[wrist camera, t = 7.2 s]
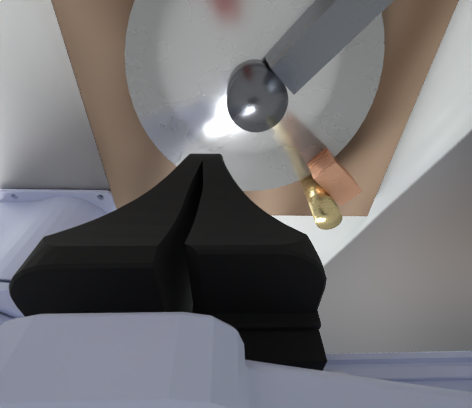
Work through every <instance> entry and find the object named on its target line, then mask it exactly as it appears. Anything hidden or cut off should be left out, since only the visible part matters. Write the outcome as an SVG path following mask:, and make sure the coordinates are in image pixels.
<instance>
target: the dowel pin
mask: <svg viewBox="0 0 472 408" xmlns="http://www.w3.org/2000/svg"><path fill="white" fill-rule="evenodd" d="M300 182H301V185H302V188H303V190H304V193H305V196H306V198H307V201H308V204H309V206H310V209H311V212H312V214H313V217H314V220H315V223H316V225H317V226H318V227H319V228H320V229H324V230H328V229H332V228H335V227H336V226H338V225H339V224H340V223H341V221H342V215H341V213H340V211H339V209H338V207H337V205H336V203H335V201H334V199H333V198H332V197H331V196H330V195H329V194H328V193H327V192H326V191H325V190H324V189H323V188H322V187H321V186H320V185H319V184H318V183H317V182H316V181H315V180H314V178H313V176H312V174H310V175H308V176H307V177H305V178H303V179H301V180H300Z"/></svg>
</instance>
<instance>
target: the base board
mask: <svg viewBox="0 0 472 408" xmlns="http://www.w3.org/2000/svg"><path fill="white" fill-rule="evenodd" d="M51 1H52V4H53V7H54V11H55V14H56V17H57V20H58V23H59V27H60V30H61V33H62V36H63V39H64V43H65V46H66V49H67V52H68V55H69V59H70V62H71V65H72V68H73V71H74V75H75V78H76V81H77V84H78V87H79V91H80V94H81V97H82V100H83V103H84V107H85V110H86V113H87V116H88V119H89V123H90V126H91V129H92V132H93V135H94V139H95V142H96V145H97V148H98V151H99V155H100V158H101V161H102V164H103V167H104V171H105V174H106V177H107V180H108V183H109V187H110V190H111V193H112V196H113V199H114V203H115V206H116V209H118V208H120V207H122V206H124V205H126V204H128V203H130V202H132V201H133V200H135V199H137V198H138V197H140V196H141V195H143V194H144V193H146V192H148V191H149V190H150V189H152V188H153V187H154V186H156V185H157V184H158V183H159V182H160V181H162V180H163V179H164V178H165V177H166V176H168V175H169V174H170V173H171V172H172V171H173V170H174V169H175V168H176V167H177V166H176V165H174V164H173V163H172V162H171V161H170V160H168V159H167V158H166V157H165V156H164V155H163V153H162V152H161V151H160V150H159V149H158V148H157V147H156V146H155V144H154V143H153V142H152V140H151V139H150V138H149V136H148V135H147V133H146V131H145V130H144V128H143V126H142V124H141V123H140V120H139V118H138V116H137V114H136V111H135V109H134V106H133V103H132V100H131V97H130V93H129V89H128V84H127V78H126V72H125V40H126V31H127V26H128V21H129V16H130V13H131V10H132V7H133V4H134V1H135V0H51ZM458 1H459V0H394V1H393V2H392V3H391V4H390V5H389V6H388V7H387V8H386V9H385V10H383V11H382V18H383V25H384V49H385V50H384V59H383V68H382V73H381V77H380V82H379V86H378V89H377V92H376V95H375V98H374V100H373V103H372V105H371V107H370V109H369V111H368V114H367V116H366V118H365V119H364V121H363V123H362V124H361V126H360V127H359V129H358V131H357V132H356V134H355V135H354V136H353V137H352V139H351V140H350V141H349V143H348V144H347V145H346V146H345V147H344V148H343V149H342V150H341V151H340V152H339V153H338V154H337V155H336V156H335V157H336V158H337V159H338V161H339V162H340V163H341V164H342V165H343V166H344V167H345V168H346V170H347V171H348V172H349V173H350V174H351V175H352V177H353V178H354V180H355V181H356V183H357V184H358V186H359V187H360V189H361V190H362V192H361V193H360V194H358V195H357V196H355V197H354V198H352V199H351V200H349V201H348V202H346V203H345V204H343V205H342V206H340V205H339V204H338V203H337V202H336V201H335V200H334V201H335V203H336V205H337V207H338V209H339V211H340V213H341V215H342V216H367V215H368V213H369V211H370V208H371V206H372V204H373V201H374V199H375V197H376V194H377V192H378V189H379V187H380V185H381V182H382V180H383V178H384V175H385V173H386V171H387V168H388V166H389V164H390V161H391V159H392V156H393V154H394V152H395V149H396V147H397V145H398V142H399V140H400V138H401V135H402V133H403V130H404V128H405V126H406V123H407V121H408V119H409V116H410V114H411V112H412V109H413V107H414V105H415V102H416V100H417V97H418V95H419V93H420V90H421V88H422V86H423V83H424V81H425V79H426V76H427V74H428V71H429V69H430V67H431V64H432V62H433V60H434V57H435V55H436V53H437V50H438V48H439V46H440V43H441V41H442V38H443V36H444V34H445V31H446V29H447V27H448V24H449V22H450V20H451V17H452V15H453V12H454V10H455V8H456V5H457V3H458ZM243 192H244V193H245V194H246V195H247V196H248V197H249V198H250V199H251V200H252V201H253V202H254V203H255V204H256V205H257V206H258V207H260V208H261V209H262V210H264V211H265V212H266V213H268V214H269V215H295V216H313V214H312V212H311V209H310V206H309V204H308V201H307V198H306V196H305V193H304V190H303V188H302V185H301V182H300V180H298V181H296V182H294V183H291V184H288V185H285V186H282V187H278V188H274V189H268V190H261V191H243Z"/></svg>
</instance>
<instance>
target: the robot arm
mask: <svg viewBox="0 0 472 408" xmlns="http://www.w3.org/2000/svg"><path fill="white" fill-rule="evenodd" d="M16 195H17V196H16ZM100 195H102V196H103V197H101V196H100ZM325 285H326V276H325V272H324V268H323V265H322V263H321V260H320V258H319V256H318V254H317V252H316V250H315V248H314V246H313V245H312V243H311V241H310V239H309V237H308V236H307V235H306V234H304V233H302V232H300V231H298V230H296V229H294V228H292V227H289V226H287V225H285V224H284V223H282V222H280V221H279V220H277V219H275V218H274V217H272V216H271V215H269V214H268V213H266V212H265V211H264V210H262V209H261V208H260V207H258V206H257V205H256V204H255V203H254V202H253V201H252V200H251V199H250V198H249V197H248V196H247V195H246V194H245V193H244V192H243V191H242V190H241V188H240V187H239V186H238V184H237V183H236V182H235V180H234V179H233V177H232V176H231V174H230V172H229V171H228V169H227V167H226V165H225V163H224V160H223V156H222V155H221V154H189V155H188V156H187V157H186V158H185V159H184V160H183V161H182V162H181V163H180V164H179V165H178V166H177V167H176V168H175V169H174V170H173V171H172V172H171V173H170V174H169V175H168V176H166V177H165V178H164V179H163V180H162V181H160V182H159V183H158V184H157V185H156V186H154V187H153V188H152V189H150V190H149V191H148V192H146V193H144V194H143V195H141V196H140V197H138V198H137V199H135V200H133V201H132V202H130V203H128V204H126V205H124V206H122V207H120V208H118V209H116V206H115V203H114V199H113V196H112V193H111V191H108V190H50V189H0V408H472V351H445V352H398V353H397V352H395V353H394V352H392V353H343V354H342V353H341V354H340V353H339V354H325V351H324V347H323V344H322V340H321V336H320V332H319V329H320V327H321V322H320V318H319V315H318V311H317V309H318V306H319V303H320V301H321V298H322V295H323V292H324V289H325Z"/></svg>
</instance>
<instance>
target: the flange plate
mask: <svg viewBox="0 0 472 408" xmlns="http://www.w3.org/2000/svg"><path fill="white" fill-rule="evenodd" d="M393 1H394V0H135V1H134V4H133V7H132V10H131V13H130V16H129V21H128V26H127V31H126V40H125V72H126V78H127V84H128V89H129V93H130V97H131V100H132V103H133V106H134V109H135V111H136V114H137V116H138V118H139V120H140V123H141V124H142V126H143V128H144V130H145V131H146V133H147V135H148V136H149V138H150V139H151V140H152V142H153V143H154V144H155V146H156V147H157V148H158V149H159V150H160V151H161V152H162V153H163V155H164V156H165V157H166V158H167V159H168V160H170V161H171V162H172V163H173V164H174V165H176V166H178V165H179V164H180V163H181V162H182V161H183V160H184V159H185V158H186V157H187V156H188V155H189V154H221V155H222V156H223V160H224V163H225V165H226V167H227V169H228V171H229V172H230V174H231V176H232V177H233V179H234V180H235V182H236V183H237V184H238V186H239V187H240V188H241V190H242V191H261V190H268V189H274V188H278V187H282V186H285V185H288V184H291V183H294V182H296V181H298V180H301V179H303V178H305V177H307V176H308V175H310V174H312V176H313V178H314V180H315V181H316V182H317V183H318V184H319V185H320V186H321V187H322V188H323V189H324V190H325V191H326V192H327V193H328V194H329V195H330V196H331V197H332V198H333V199H334V200H335V201H336V202H337V203H338V204H339V205H340V206H342V205H343V204H345V203H346V202H348V201H349V200H351V199H352V198H354V197H355V196H357V195H358V194H360V193H361V192H362V190H361V189H360V187H359V186H358V184H357V183H356V181H355V180H354V178H353V177H352V175H351V174H350V173H349V172H348V171H347V170H346V168H345V167H344V166H343V165H342V164H341V163H340V162H339V161H338V159H337V158H336V157H335V156H336V155H337V154H338V153H339V152H340V151H341V150H342V149H343V148H344V147H345V146H346V145H347V144H348V143H349V141H350V140H351V139H352V137H353V136H354V135H355V134H356V132H357V131H358V129H359V127H360V126H361V124H362V123H363V121H364V119H365V118H366V116H367V114H368V111H369V109H370V107H371V105H372V103H373V100H374V98H375V95H376V92H377V89H378V86H379V82H380V77H381V73H382V68H383V59H384V50H385V49H384V25H383V18H382V11H383V10H385V9H386V8H387V7H388V6H389V5H390V4H391V3H392V2H393Z"/></svg>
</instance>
